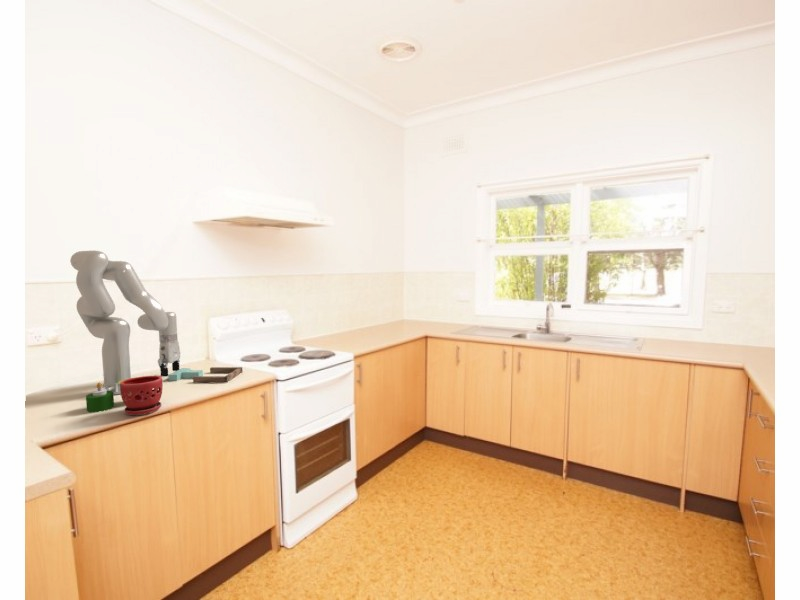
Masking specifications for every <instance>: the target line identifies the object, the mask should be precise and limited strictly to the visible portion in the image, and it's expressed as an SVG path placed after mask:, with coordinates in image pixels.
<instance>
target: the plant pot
mask: <svg viewBox="0 0 800 600" xmlns="http://www.w3.org/2000/svg"><path fill="white" fill-rule="evenodd" d="M120 391H121V394H120V396H121V400H122V402H123V404H124V406H125V408H124V410H123V411H124V412H125V414H126V415H130V416H141V415H143V416H144V415H149V414H151V413H154V412H156V411H158V410H159V409H160V408H161V407H162V402H161V398H162V394H163V376H161V375H160V376H159V375H143V376H138V377H137V376H136V378H135V377H131V379H127V380H124V381H122V382H121V383H120ZM129 392H131V393H132V394H130V393H129Z"/></svg>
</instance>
